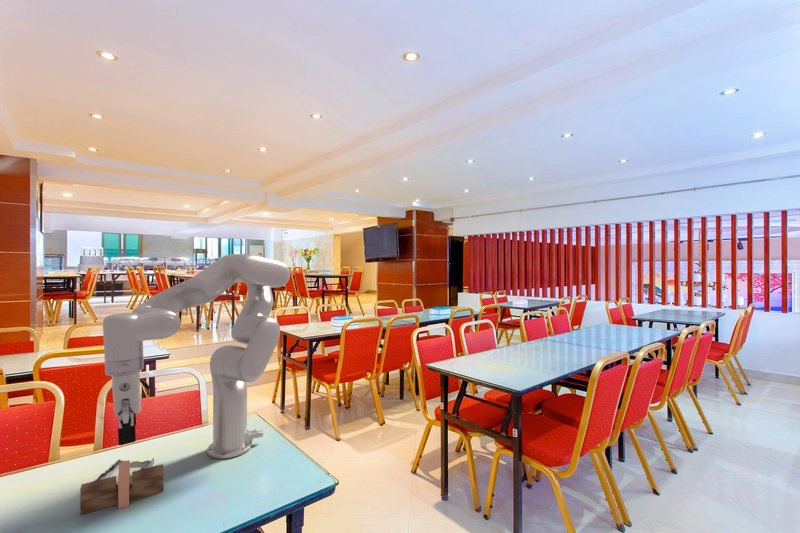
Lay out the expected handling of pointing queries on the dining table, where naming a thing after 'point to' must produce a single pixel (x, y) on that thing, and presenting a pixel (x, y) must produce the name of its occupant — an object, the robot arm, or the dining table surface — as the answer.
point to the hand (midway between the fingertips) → (127, 434)
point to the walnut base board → (107, 494)
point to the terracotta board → (123, 484)
